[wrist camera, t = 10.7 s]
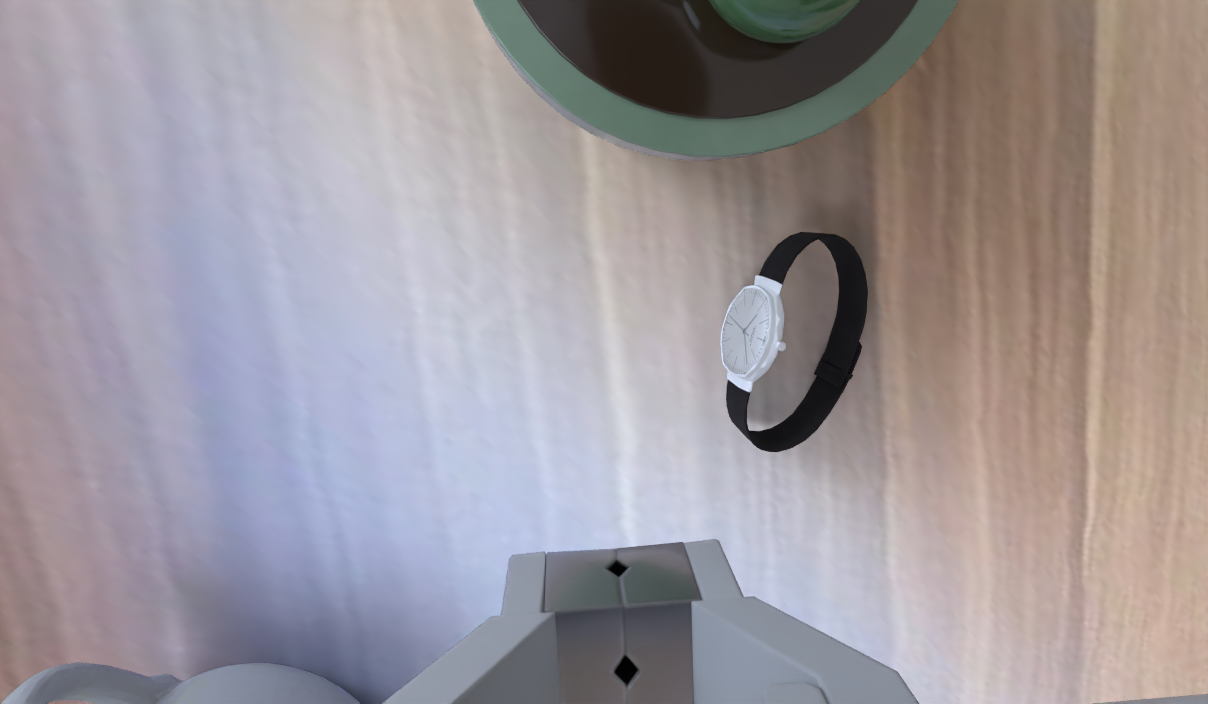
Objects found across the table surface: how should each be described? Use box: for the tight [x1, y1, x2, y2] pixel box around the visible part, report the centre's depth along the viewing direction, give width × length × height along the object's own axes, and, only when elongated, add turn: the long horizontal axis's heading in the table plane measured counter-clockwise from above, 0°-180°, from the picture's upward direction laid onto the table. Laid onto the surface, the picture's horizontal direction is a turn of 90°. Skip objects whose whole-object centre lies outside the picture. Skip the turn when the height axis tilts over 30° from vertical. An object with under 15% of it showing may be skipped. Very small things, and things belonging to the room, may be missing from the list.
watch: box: [721, 232, 868, 452], centre depth 25 cm, size 8×5×4 cm, turn 166°
